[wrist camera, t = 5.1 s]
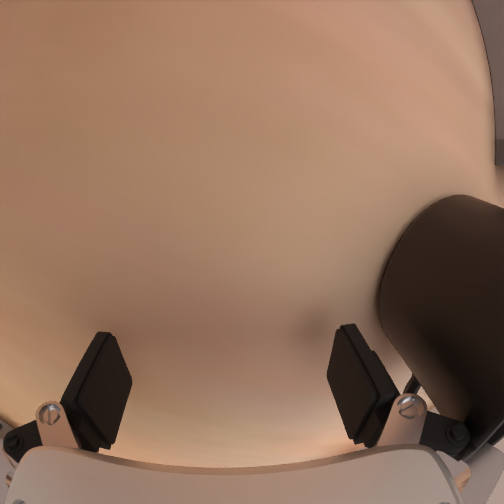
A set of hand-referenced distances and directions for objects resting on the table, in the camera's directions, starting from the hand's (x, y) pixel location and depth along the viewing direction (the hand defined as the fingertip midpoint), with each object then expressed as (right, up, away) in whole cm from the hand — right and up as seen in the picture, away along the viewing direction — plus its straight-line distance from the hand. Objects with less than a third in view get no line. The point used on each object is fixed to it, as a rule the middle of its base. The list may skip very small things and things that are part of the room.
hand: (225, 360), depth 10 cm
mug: (+11, +2, +2) cm, 12 cm away
